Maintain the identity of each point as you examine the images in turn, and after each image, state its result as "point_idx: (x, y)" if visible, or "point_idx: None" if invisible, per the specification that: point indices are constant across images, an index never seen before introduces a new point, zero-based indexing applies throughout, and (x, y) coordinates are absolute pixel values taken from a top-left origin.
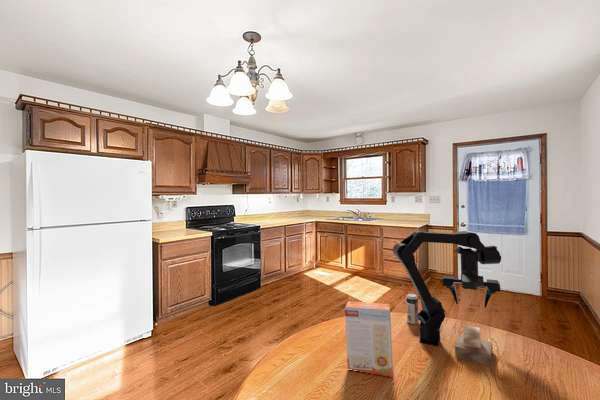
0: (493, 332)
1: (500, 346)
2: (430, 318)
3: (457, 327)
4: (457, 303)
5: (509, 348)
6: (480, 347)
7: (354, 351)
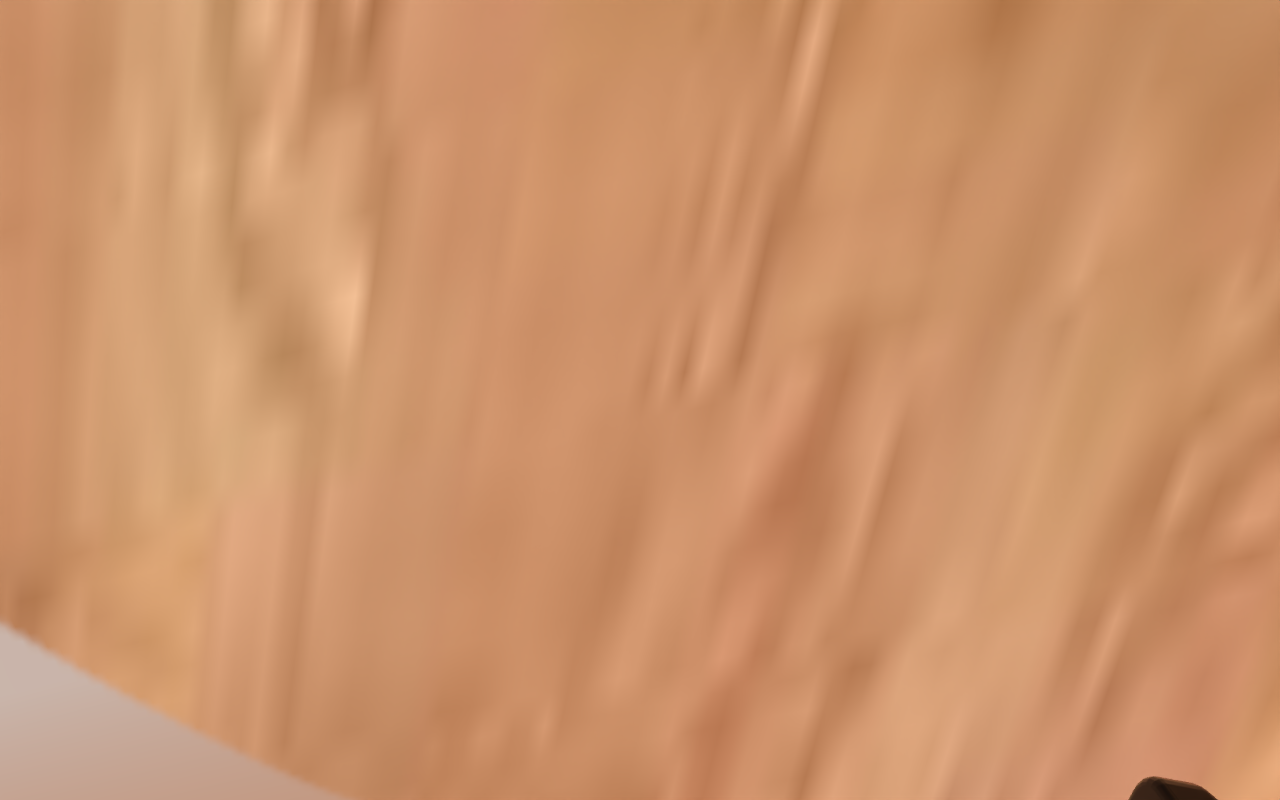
0: (235, 610)
1: (169, 79)
2: None
3: (797, 667)
4: (1169, 785)
5: (21, 37)
6: None
7: None
